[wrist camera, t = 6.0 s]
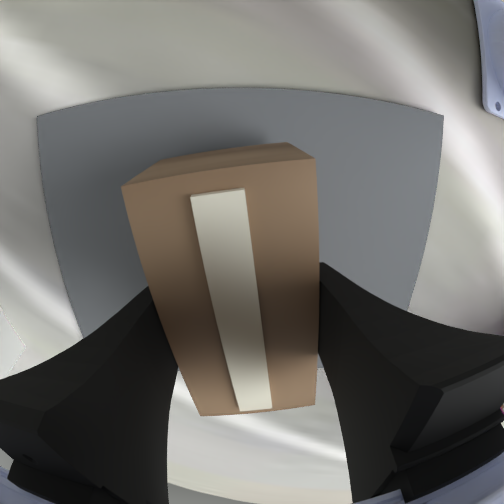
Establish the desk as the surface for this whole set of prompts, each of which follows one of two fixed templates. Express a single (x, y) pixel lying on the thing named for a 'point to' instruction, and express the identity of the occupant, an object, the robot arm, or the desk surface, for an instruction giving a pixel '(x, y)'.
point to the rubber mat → (231, 136)
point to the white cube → (8, 345)
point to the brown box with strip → (234, 272)
